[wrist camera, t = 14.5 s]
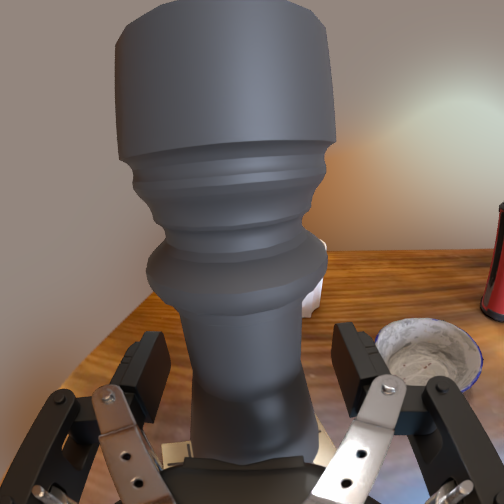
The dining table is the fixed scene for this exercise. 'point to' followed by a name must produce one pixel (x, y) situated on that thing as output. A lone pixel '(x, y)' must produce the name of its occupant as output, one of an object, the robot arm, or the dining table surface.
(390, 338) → the bowl
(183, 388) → the dining table surface
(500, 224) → the speaker
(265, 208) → the candle holder
